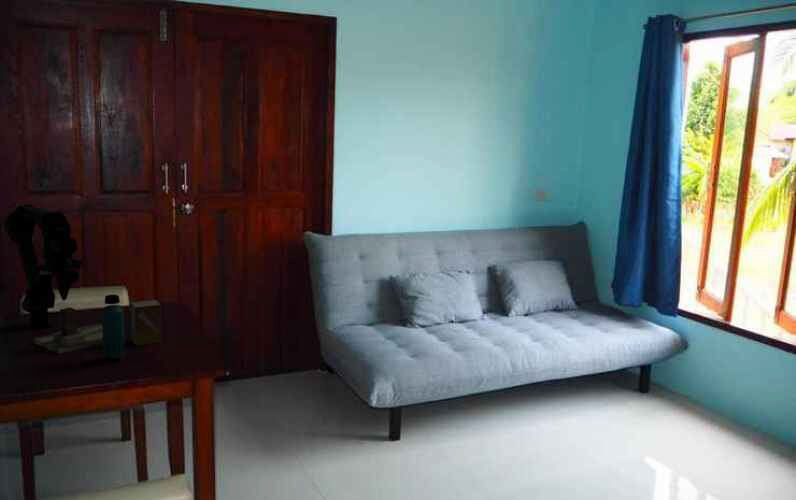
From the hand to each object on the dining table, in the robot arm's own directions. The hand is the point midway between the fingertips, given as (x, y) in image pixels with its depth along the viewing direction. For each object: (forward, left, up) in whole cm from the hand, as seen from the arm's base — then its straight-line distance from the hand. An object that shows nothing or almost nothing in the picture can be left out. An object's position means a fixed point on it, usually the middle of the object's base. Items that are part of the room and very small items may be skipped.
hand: (56, 297), depth 227 cm
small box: (+26, +15, -13) cm, 33 cm away
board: (+9, +2, -13) cm, 16 cm away
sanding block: (+13, -4, -12) cm, 18 cm away
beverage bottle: (+33, -1, -13) cm, 36 cm away
